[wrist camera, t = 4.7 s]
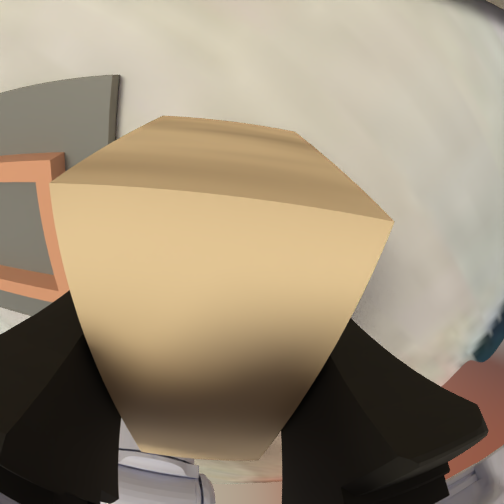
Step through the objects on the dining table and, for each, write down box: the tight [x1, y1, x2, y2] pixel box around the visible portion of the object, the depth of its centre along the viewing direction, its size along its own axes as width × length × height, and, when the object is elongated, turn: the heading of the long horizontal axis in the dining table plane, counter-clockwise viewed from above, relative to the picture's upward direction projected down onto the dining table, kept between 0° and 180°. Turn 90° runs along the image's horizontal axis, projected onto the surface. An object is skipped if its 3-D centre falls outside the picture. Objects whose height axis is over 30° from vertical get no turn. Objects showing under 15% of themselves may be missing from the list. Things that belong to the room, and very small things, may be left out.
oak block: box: [49, 116, 394, 461], centre depth 8 cm, size 9×4×6 cm, turn 171°
